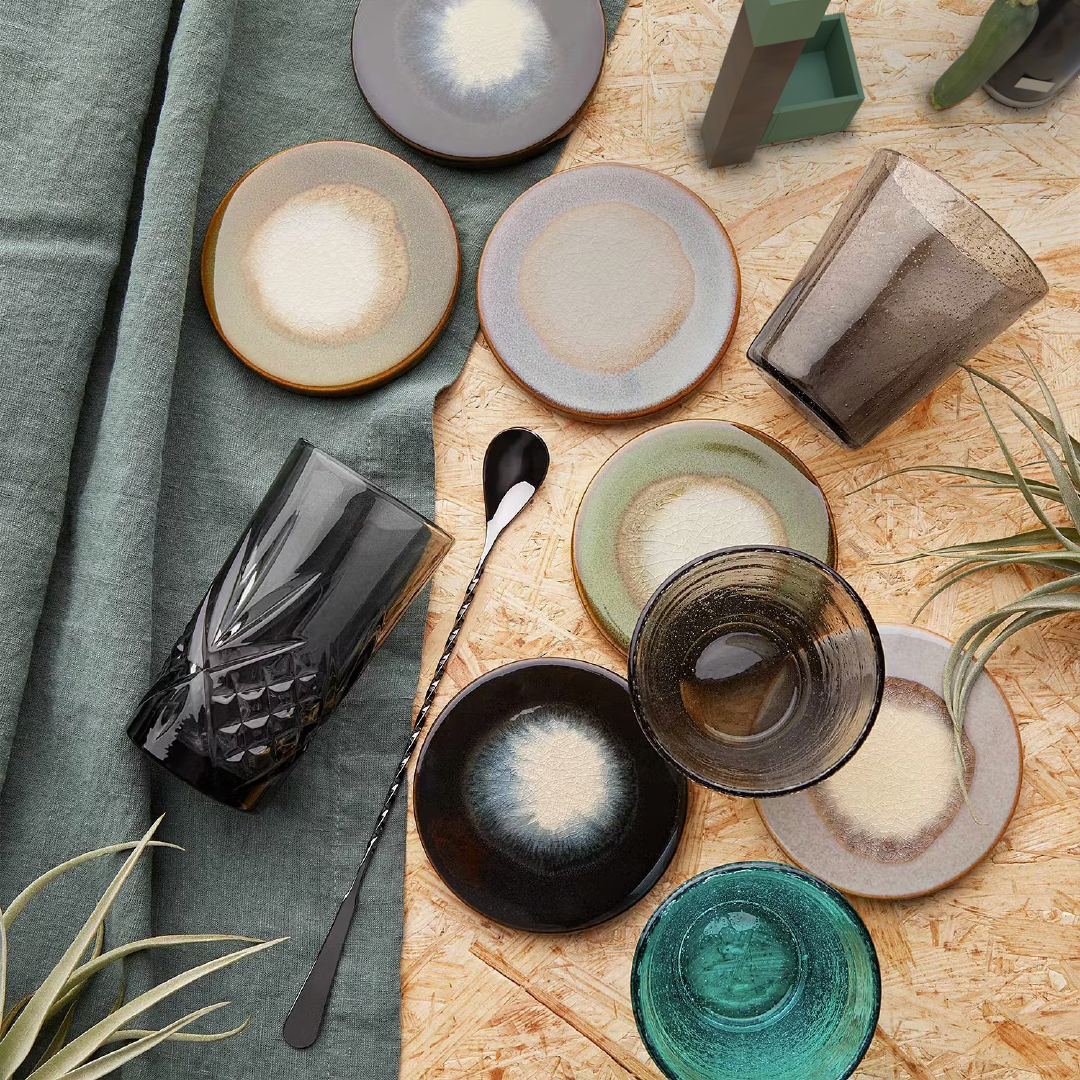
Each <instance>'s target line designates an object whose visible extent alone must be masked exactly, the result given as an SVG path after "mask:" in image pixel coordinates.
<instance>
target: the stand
mask: <svg viewBox="0 0 1080 1080" xmlns="http://www.w3.org/2000/svg"><path fill="white" fill-rule="evenodd" d="M806 41H807V38H805V39H799V40H793V41H787V42H781V43H775V44H769V45H763V46H758V47H754V44H753V40H752V36H751V31H750V27H749V22H748V18H747V14H746V9H745V5H744V0H742V4H741V7H740V10H739V12H738V16H737V18H736V21H735V23H734V28H733V30H732V33H731V36H730V40H729V42H728V45H727V48H726V51H725V54H724V57H723V61H722V63H721V66H720V69H719V72H718V74H717V78H716V81H715V84H714V86H713V89H712V93H711V96H710V98H709V101H708V105H707V108H706V111H705V114H704V117H703V120H702V122H701V125H700V128H699V129H700V134H701V139H702V144H703V149H704V153H705V157H706V162H707V167H708V169H709V170H710V169H715V168H716V169H717V168H721V167H726V166H727V167H728V166H733V165H739V164H744V163H749V162H752V159H753V157H754V155H755V153H756V151H757V148H758V146H759V142H760V140H761V138H762V136H763V133H764V131H765V129H766V127H767V125H768V123H769V120H770V118H771V116H772V114H773V112H774V110H775V108H776V105H777V103H778V101H779V99H780V97H781V95H782V92H783V90H784V88H785V86H786V84H787V82H788V79H789V77H790V75H791V73H792V71H793V69H794V67H795V64H796V62H797V60H798V58H799V56H800V54H801V51H802V49H803V47H804V45H805V43H806Z"/></svg>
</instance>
